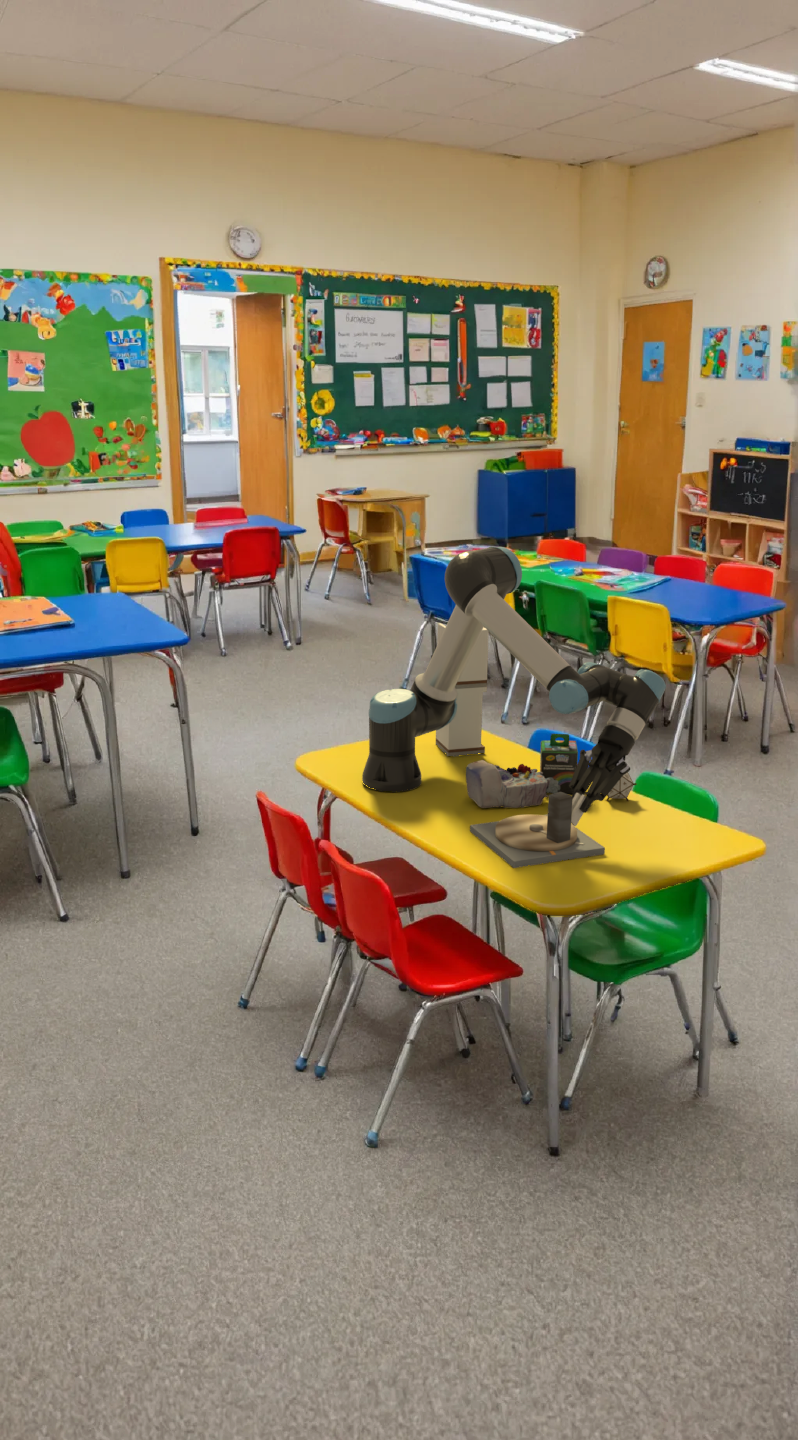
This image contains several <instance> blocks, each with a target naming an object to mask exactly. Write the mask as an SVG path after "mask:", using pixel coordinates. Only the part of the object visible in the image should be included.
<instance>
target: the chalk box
mask: <svg viewBox="0 0 798 1440" xmlns="http://www.w3.org/2000/svg"><path fill="white" fill-rule="evenodd" d="M560 738H561V739H563V740H559V739H560ZM549 739H550V740H541V741H540V757H539V758H540V760H539V763H540V764H539V766H540V767H539V768H540V769H539V772H543V774H542V775H543V776H544V778H549V779H550V785H549V787H548V788H547V789H546V794H554V793H558V792H563V793H565V794H568V795H570V796H572V795H573V793H574V791H573V790H572V789H571V788H570V787H569V785H570V782H571V780H572V777H573V775H574V772H575V769H576V767H577V764H578V762H579V760H578V756H579V751H578V745H577V740H570V734H568V733H551V734H550V738H549ZM557 739H558V740H557Z"/></svg>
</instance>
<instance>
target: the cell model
mask: <svg viewBox="0 0 798 1440" xmlns="http://www.w3.org/2000/svg"><path fill="white" fill-rule="evenodd" d="M542 774H543V772H540V771H538V769H537V768H532V769H531V766H528V765H525V764H524V763H520V764H518V766H517V768H516V767H515V766H514V767H507V768H506V769H504V768H502V767H500V765H497V764H493V763H489V762H487V761H485V760H483V759H481V760H477V761H473V762H470V763H468V764H467V766H466V767H465V779H466V780H465V781H466V788H467V790H466V791H467V796H468V797H469V799H471V800H472V801H473V802H475V804H477V806H478V807H479V808H482V809H487V808H490V809H491V808H504V809H505V808H510V809H517V808H518V809H519V808H521V809H522V808H527V807H531V806H540V805H542V804H543V801H544V799H545V798H549V794H547V793H546V789H547V788H548V787H549V785H550V779H549V778H544V776H543V775H542Z"/></svg>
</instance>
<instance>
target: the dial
mask: <svg viewBox="0 0 798 1440" xmlns="http://www.w3.org/2000/svg"><path fill="white" fill-rule="evenodd" d="M572 799H573V796H572V795H570V794H565V793H563V792H558V793H554V794H553V793H549V794H548V800H547V801H548V804H547V805H548V806H547V814H548V816H545V815H546V814H517V815H512V816H508V817H506V818H502V819H501V820H498V821H499V822H498V823H497V824H496V830H495V835H496V837H497V839H498V840H499V841H501V842H502V843H504V844H506V845H508V846H511V847H514V848H518V849H522V850H529V851H554V850H560V849H564V848H567V847H569V846H571V845H573V844H574V843H575V842H576V840H577V829H578V828H577V826H574V825H572V823H571V817H572ZM576 828H577V829H576Z"/></svg>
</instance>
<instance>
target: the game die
mask: <svg viewBox="0 0 798 1440" xmlns="http://www.w3.org/2000/svg"><path fill="white" fill-rule="evenodd" d="M630 775H631V774H630V773H629V772H627V773H626V774H624V775H623V776H622V777H621V779H620V780H619V781H618V782H617V784H616V785H615V786H614V787H613V788H612V790H611V791H610V792H609V793H608V795H607V796H606V797H607V798H606V801H607V802H608V801H610V799H617V800H618V799H619V800H620V799H623V800H625V801H627V802H629V798H628V797H629V795H630V793H631V791H632V789H633V787H634V786H636V785H637V783H636V782H634V781H633V780H632V777H631V776H630Z"/></svg>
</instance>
